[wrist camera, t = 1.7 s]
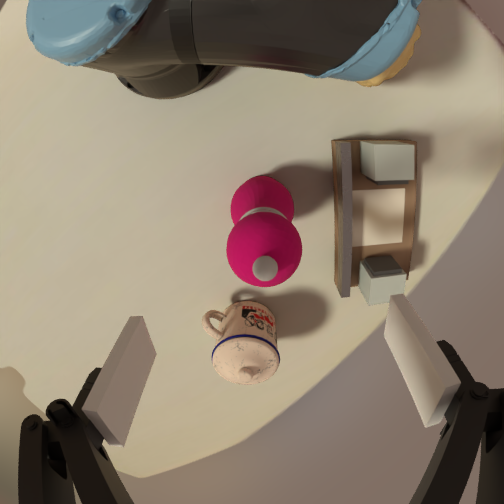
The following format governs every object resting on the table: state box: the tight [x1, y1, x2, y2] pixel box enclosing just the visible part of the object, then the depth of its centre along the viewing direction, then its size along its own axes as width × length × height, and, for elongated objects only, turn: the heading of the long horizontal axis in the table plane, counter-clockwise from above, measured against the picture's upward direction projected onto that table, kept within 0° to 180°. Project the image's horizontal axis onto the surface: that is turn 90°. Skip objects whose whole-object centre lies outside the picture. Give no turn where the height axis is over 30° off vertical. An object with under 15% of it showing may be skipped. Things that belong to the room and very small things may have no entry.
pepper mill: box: [226, 176, 302, 287], centre depth 30 cm, size 7×7×20 cm
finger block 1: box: [360, 141, 414, 185], centre depth 32 cm, size 5×5×5 cm
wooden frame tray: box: [331, 140, 417, 287], centre depth 38 cm, size 20×11×2 cm, turn 6°
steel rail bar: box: [335, 141, 352, 298], centre depth 37 cm, size 20×1×2 cm, turn 6°
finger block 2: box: [358, 255, 407, 306], centre depth 38 cm, size 5×5×5 cm
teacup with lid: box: [202, 301, 280, 385], centre depth 41 cm, size 12×9×12 cm
